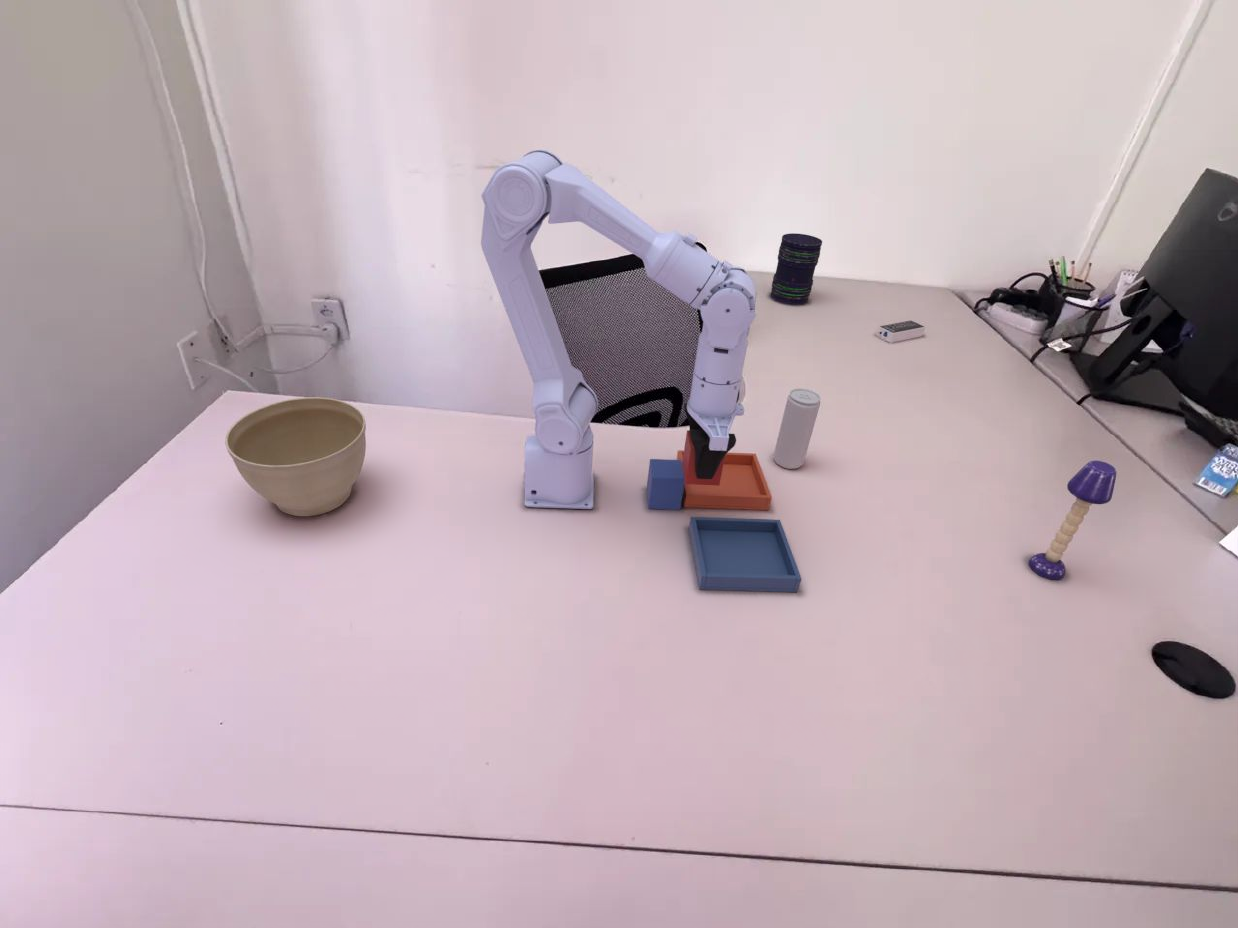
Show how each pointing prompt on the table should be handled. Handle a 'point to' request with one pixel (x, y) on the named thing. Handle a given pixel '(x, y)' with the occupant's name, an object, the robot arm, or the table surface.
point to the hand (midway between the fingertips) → (701, 466)
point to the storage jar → (795, 268)
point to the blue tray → (742, 555)
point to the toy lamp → (1076, 514)
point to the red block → (689, 466)
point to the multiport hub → (900, 331)
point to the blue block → (665, 484)
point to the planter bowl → (300, 452)
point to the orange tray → (731, 486)
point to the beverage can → (796, 428)
